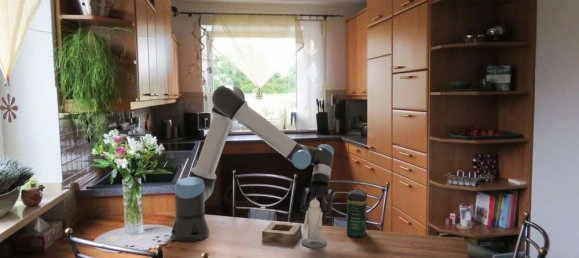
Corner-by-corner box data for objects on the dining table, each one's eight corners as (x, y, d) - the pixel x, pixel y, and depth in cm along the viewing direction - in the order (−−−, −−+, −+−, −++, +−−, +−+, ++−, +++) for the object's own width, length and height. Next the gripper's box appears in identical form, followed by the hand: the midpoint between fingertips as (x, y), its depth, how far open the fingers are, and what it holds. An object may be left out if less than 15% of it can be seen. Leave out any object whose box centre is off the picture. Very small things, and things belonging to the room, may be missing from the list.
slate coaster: (298, 246, 160) (298, 244, 160) (304, 237, 169) (304, 236, 169) (324, 249, 157) (324, 247, 157) (328, 240, 167) (328, 238, 167)
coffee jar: (364, 238, 169) (365, 194, 167) (345, 236, 172) (345, 192, 170) (367, 231, 178) (368, 188, 176) (349, 229, 181) (350, 187, 179)
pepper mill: (306, 239, 161) (307, 200, 160) (309, 235, 166) (309, 197, 165) (319, 240, 160) (319, 201, 159) (321, 236, 165) (322, 198, 164)
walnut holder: (262, 241, 165) (262, 231, 165) (272, 230, 178) (272, 221, 177) (293, 244, 162) (293, 234, 162) (301, 233, 174) (301, 224, 174)
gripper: (343, 183, 174) (336, 234, 160) (301, 180, 179) (291, 230, 164) (341, 173, 168) (334, 225, 154) (298, 171, 173) (288, 221, 159)
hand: (312, 227), depth 159 cm, fingers closed on pepper mill, 5 cm apart
